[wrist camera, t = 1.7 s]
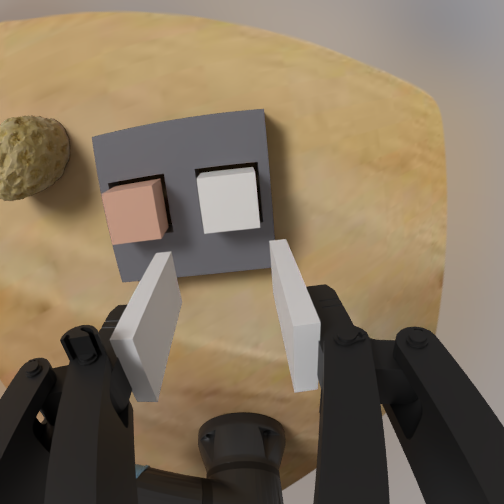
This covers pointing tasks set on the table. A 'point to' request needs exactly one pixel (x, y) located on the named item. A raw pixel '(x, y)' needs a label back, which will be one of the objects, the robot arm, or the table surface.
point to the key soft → (228, 200)
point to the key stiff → (136, 212)
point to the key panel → (190, 189)
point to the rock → (31, 155)
